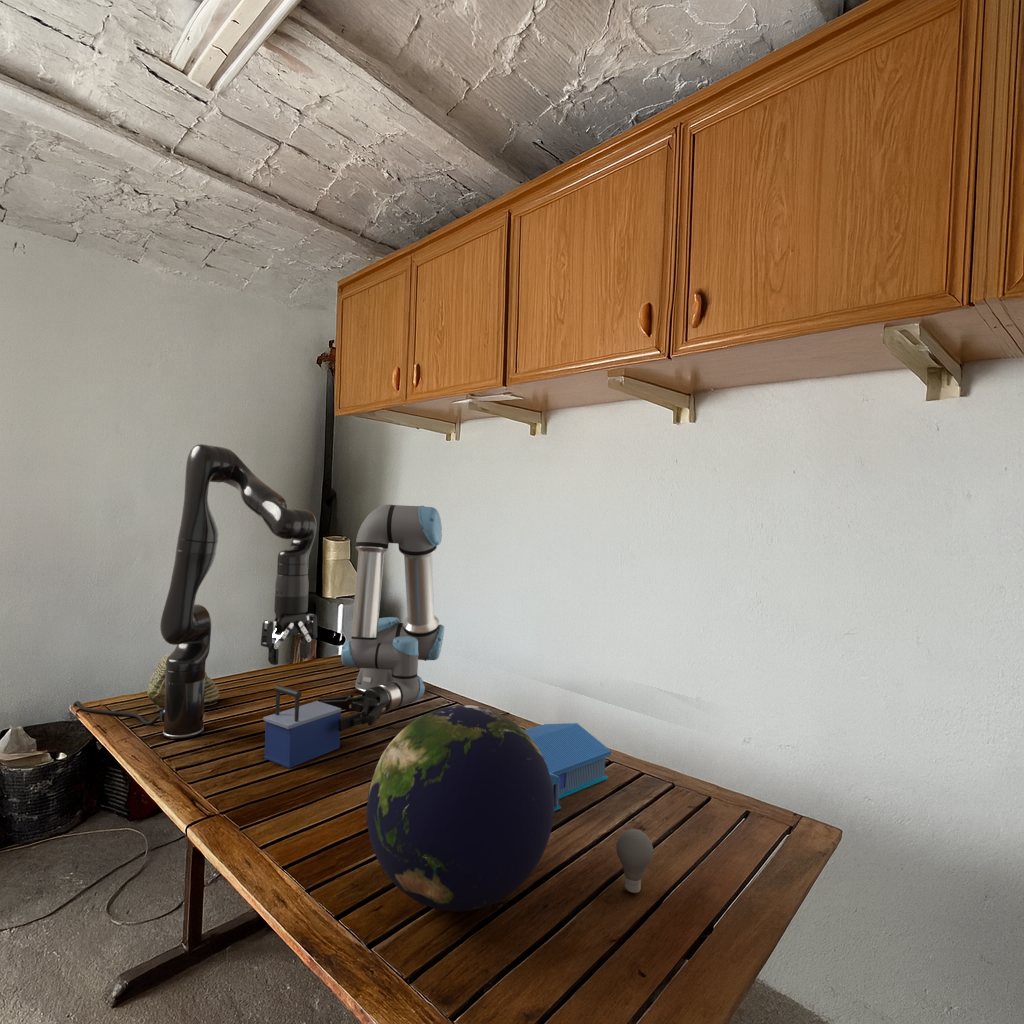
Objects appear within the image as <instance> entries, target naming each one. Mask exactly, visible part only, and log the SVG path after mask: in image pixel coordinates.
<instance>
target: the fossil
mask: <svg viewBox="0 0 1024 1024" xmlns="http://www.w3.org/2000/svg"><path fill="white" fill-rule="evenodd" d="M169 655H170V654H165V655H164V656H163V657H162V658H161V659H160V660H159V662H158V663H157V666H156V667H155V669H154V670H153V672H152V675H151V677H150V680H149V684H148V688H147V697H148V699H149V700H150V701H152V703H153V704H154V706H155V711H158V712H160V711H164V705H165V674H166V659H167V658H168V656H169ZM220 698H221V696H220V690H219V688H218V686H217V685H216V683H215V682H214V681H213V679H212V678H211V677H209V675H208V674H207V672H206V671H205V693H204V707H207V706H213V705H215V704H217V703H218V701H219V699H220Z"/></svg>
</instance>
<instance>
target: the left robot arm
mask: <svg viewBox="0 0 1024 1024" xmlns="http://www.w3.org/2000/svg"><path fill="white" fill-rule="evenodd" d="M184 476H185V477H184V495H183V496H184V497H183V505H182V514H181V519H180V520H181V521H180V526H179V531H178V535H177V536H178V537H177V542H176V548H175V557H174V562H173V567H172V572H171V578H170V585H169V589H168V593H167V596H166V600H165V604H164V606H163V610H162V613H161V618H160V623H159V625H160V626H159V631H160V634H161V636H162V638H163V640H164V641H165V642H166V643H167V644H169V645H172V646H175V648H174V649H173V651H172V652H171V653H170V654H168V655H169V656H168V658H167V659H166V674H165V705H164V710H162V711H159V714H158V715H156V716H155V717H153V719H152V720H150V721H149V720H146V719H145V718H144V716H142V715H140V714H138V713H135V712H128V711H117V710H108V709H98V708H92V707H86V706H84V705H82V703H81V702H80V701H79V700H75V702H73V704H72V706H73V707H76V706H77V708H79V709H80V710H82V711H84V712H89V713H96V714H105V715H113V716H126V717H133V718H136V719H138V720H139V721H140V722H141V723H142V724H144V725H146V726H147V725H148V726H151V725H154V724H155V723H156V722H157V721H158V720H159V721H160V722H161V723H163V730H162V737H164V738H166V739H169V740H185V739H190V738H191V739H192V738H194V737H197V736H199V735H202V734H203V732H204V730H205V729H204V726H205V725H204V722H205V721H204V719H205V718H206V713H205V706H204V693H205V672H206V664H207V663H206V662H207V658H208V656H209V653H210V649H211V648H210V647H211V639H212V617H211V614H210V612H209V610H208V609H207V608H206V607H205V606H203V605H201V604H196V598H197V594H198V591H199V588H200V587H201V585H202V583H203V581H204V580H205V578H206V576H207V575H208V573H209V571H210V570H211V568H212V566H213V564H214V561H215V559H216V554H217V548H218V542H219V529H218V526H217V523H216V521H215V518H214V516H213V514H212V511H211V508H210V505H209V489H210V483H217V484H219V483H224V484H226V485H228V486H231V487H233V488H235V489H236V490H237V491H238V492H239V494H240V498H241V500H242V502H243V503H244V505H245V506H246V507H247V509H249V510H250V511H251V512H253V513H254V514H256V515H257V516H258V517H259V518H261V519H262V520H263V522H264V524H265V525H266V527H267V528H268V529H269V531H270V532H271V534H273V535H274V536H276V537H277V538H279V539H281V540H290V543H289V546H288V547H286V548H282V549H281V550H280V551H279V552H278V553H277V560H276V578H275V582H274V609H273V612H274V614H275V617H274V620H266V619H264V620H263V621H262V625H261V637H260V646H261V647H265V648H267V649H268V655H267V656H268V657H267V660H268V663H269V664H270V665H273V666H276V665H278V664H279V655H280V654H279V652H280V648H279V647H280V645H281V644H282V642H284V641H285V639H286V638H291V637H292V636H298V638H299V639H300V642H299V657H300V659H301V658H302V659H308V657H309V655H310V643H311V642H312V640H316V639H317V638H318V615H317V614H315V613H310V612H309V613H308V609H309V587H310V586H309V575H308V574H309V557H310V554H311V551H312V548H313V544H314V541H315V538H316V535H317V530H318V526H317V525H318V524H317V518H316V517H315V515H314V513H313V512H312V511H310V510H308V509H304V508H303V509H302V508H301V509H297V508H296V509H295V508H294V509H293V508H291V509H290V508H288V502H287V500H286V499H285V498H284V497H283V496H282V495H281V494H279V493H278V492H277V491H276V490H274V489H273V488H272V487H270V486H269V485H267V484H266V483H265V482H264V481H262V480H261V479H260V478H259V477H257V476H256V474H255V473H253V471H252V470H251V469H250V468H249V467H248V466H247V465H246V464H245V463H244V462H243V460H241V458H240V457H239V455H237V454H236V453H235V452H234V451H232V450H231V449H229V448H226V447H222V446H217V445H211V444H204V443H203V444H202V443H200V444H195V445H194V446H193V447H192V448H191V449H190V451H189V453H188V455H187V460H186V465H185V475H184ZM305 625H306V626H305Z"/></svg>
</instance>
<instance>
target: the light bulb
mask: <svg viewBox="0 0 1024 1024" xmlns="http://www.w3.org/2000/svg"><path fill="white" fill-rule="evenodd" d="M615 849H616V854H617V857H618V859H619V861H620V863H621V865H622V867H623V873H624V874H623V875H624V876H625V878H624V888H625V890H627V891H628V892H630V893H634V894H635V893H639V892H640V891H641V889H642V887H641V886H642V879H643V877H644V875H645V871H646V868H647V867H648V866H649V864H650V863H651V861H652V859H653V855H654V847H653V843H652V841H651V838H649V836H648V835H647V834H646V833H645V832H643V831H642V830H641V829H636V828H629V829H627V830H625V831H623V832H622V833H621V834H620V835H619V837H618V839H617V841H616V847H615Z"/></svg>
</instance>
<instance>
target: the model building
mask: <svg viewBox="0 0 1024 1024" xmlns="http://www.w3.org/2000/svg"><path fill="white" fill-rule="evenodd" d="M523 730H524V731H525V732H526V733H527V734H528V735H529V736H530V737H531V739H532V740H533V741H534V742H535V744H536V745H537V747H538V748H539V750H540V752H541V753H542V755H543V757H544V760H545V763H546V765H547V767H548V770H549V774H550V777H551V782H552V786H553V794H554V812H556V811H559V810H561V809H562V806H561V805H560V799H563V798H565V797H567V796H570V795H572V794H575V793H578V792H580V791H583V790H584V789H587V788H589V787H591V786H594V785H596V784H599V783H601V782H603V781H606V780H609V776H608V775H606V758H607V757H610V756H612V750H611V749H609V748H608V747H607V746H606V745H605V744H603V742H601V741H600V740H598V739H597V738H596V737H595V736H594V735H592V734H591V733H590V732H589V731H588V730H586V729H585V728H584V727H583V726H581V725H580V724H579V723H578V722H572V723H571V722H568V723H564V722H563V723H544V724H540V725H537V726H533V727H531V728H527V729H523Z"/></svg>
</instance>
